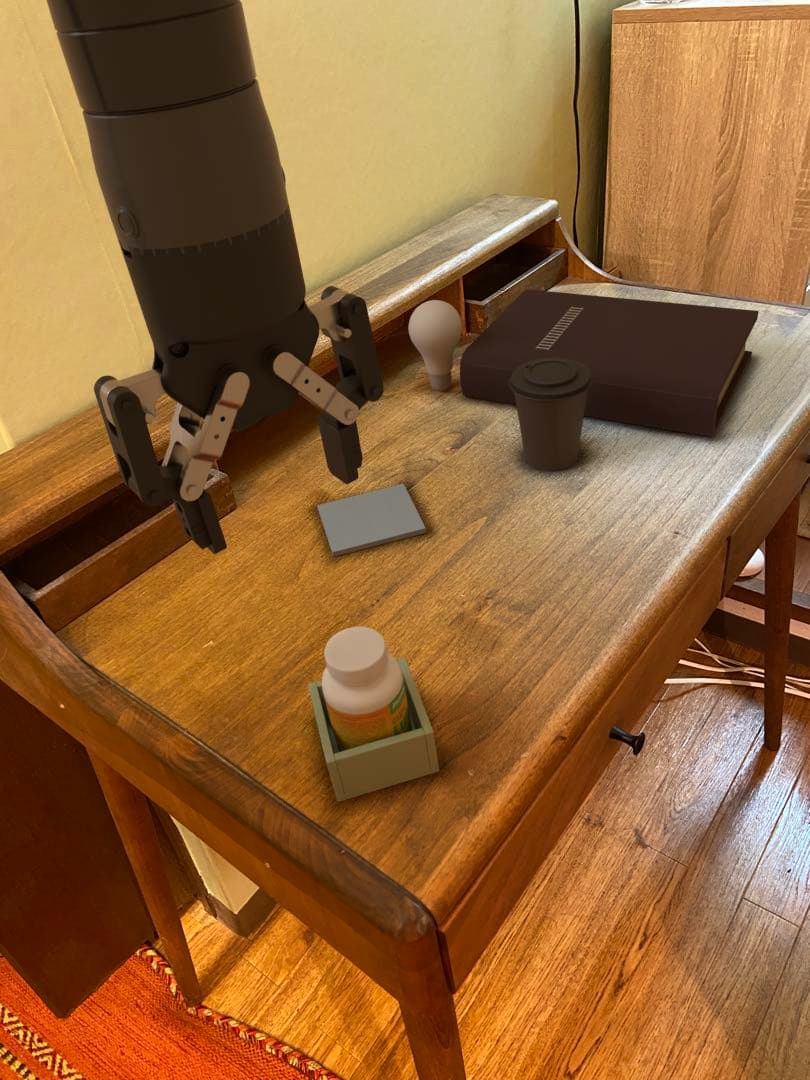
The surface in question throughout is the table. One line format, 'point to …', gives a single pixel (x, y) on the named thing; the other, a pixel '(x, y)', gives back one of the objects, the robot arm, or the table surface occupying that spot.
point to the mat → (370, 519)
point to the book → (620, 355)
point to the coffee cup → (551, 410)
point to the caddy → (378, 748)
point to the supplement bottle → (363, 689)
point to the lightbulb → (436, 339)
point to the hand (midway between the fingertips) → (281, 510)
